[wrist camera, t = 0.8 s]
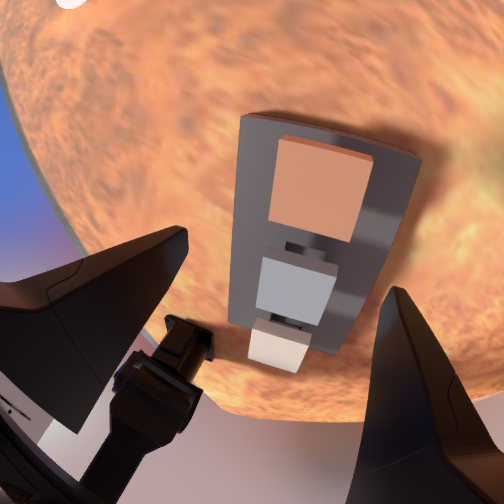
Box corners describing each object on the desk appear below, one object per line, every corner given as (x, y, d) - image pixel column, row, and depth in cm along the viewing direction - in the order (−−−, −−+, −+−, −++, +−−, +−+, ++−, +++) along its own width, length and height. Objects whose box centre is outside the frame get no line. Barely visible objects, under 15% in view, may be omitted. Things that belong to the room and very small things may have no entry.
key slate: (322, 302, 20) (317, 325, 18) (265, 286, 21) (255, 307, 19) (339, 255, 17) (336, 277, 16) (273, 236, 18) (262, 256, 16)
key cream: (301, 353, 24) (296, 373, 23) (255, 338, 25) (247, 358, 23) (314, 323, 22) (308, 345, 20) (261, 307, 23) (252, 328, 21)
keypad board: (337, 343, 26) (335, 355, 25) (233, 311, 28) (227, 322, 27) (416, 154, 14) (421, 160, 13) (249, 113, 16) (240, 116, 15)
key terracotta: (350, 222, 16) (349, 242, 14) (278, 202, 17) (268, 220, 15) (370, 151, 13) (373, 162, 11) (289, 131, 14) (279, 139, 12)
